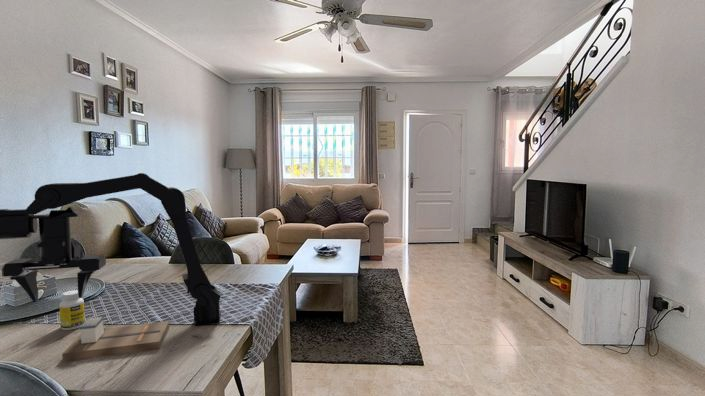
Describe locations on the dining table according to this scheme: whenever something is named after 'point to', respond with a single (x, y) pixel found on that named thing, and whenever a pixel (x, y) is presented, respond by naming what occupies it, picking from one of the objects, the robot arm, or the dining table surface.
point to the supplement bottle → (71, 310)
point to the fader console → (119, 341)
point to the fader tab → (91, 330)
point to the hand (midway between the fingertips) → (58, 299)
